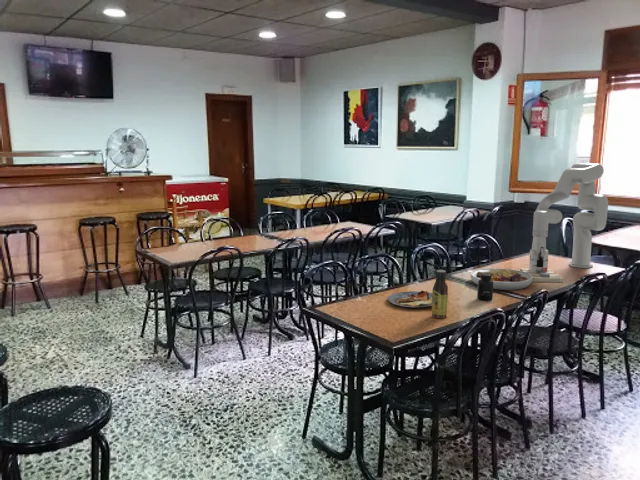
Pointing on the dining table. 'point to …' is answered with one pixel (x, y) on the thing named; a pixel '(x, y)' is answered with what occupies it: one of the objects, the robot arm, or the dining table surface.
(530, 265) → the ink box
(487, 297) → the supplement bottle
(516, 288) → the bowl
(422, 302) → the food plate
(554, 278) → the birch board
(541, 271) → the grey mark
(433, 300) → the sauce bottle
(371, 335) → the dining table surface
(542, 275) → the grey mark
